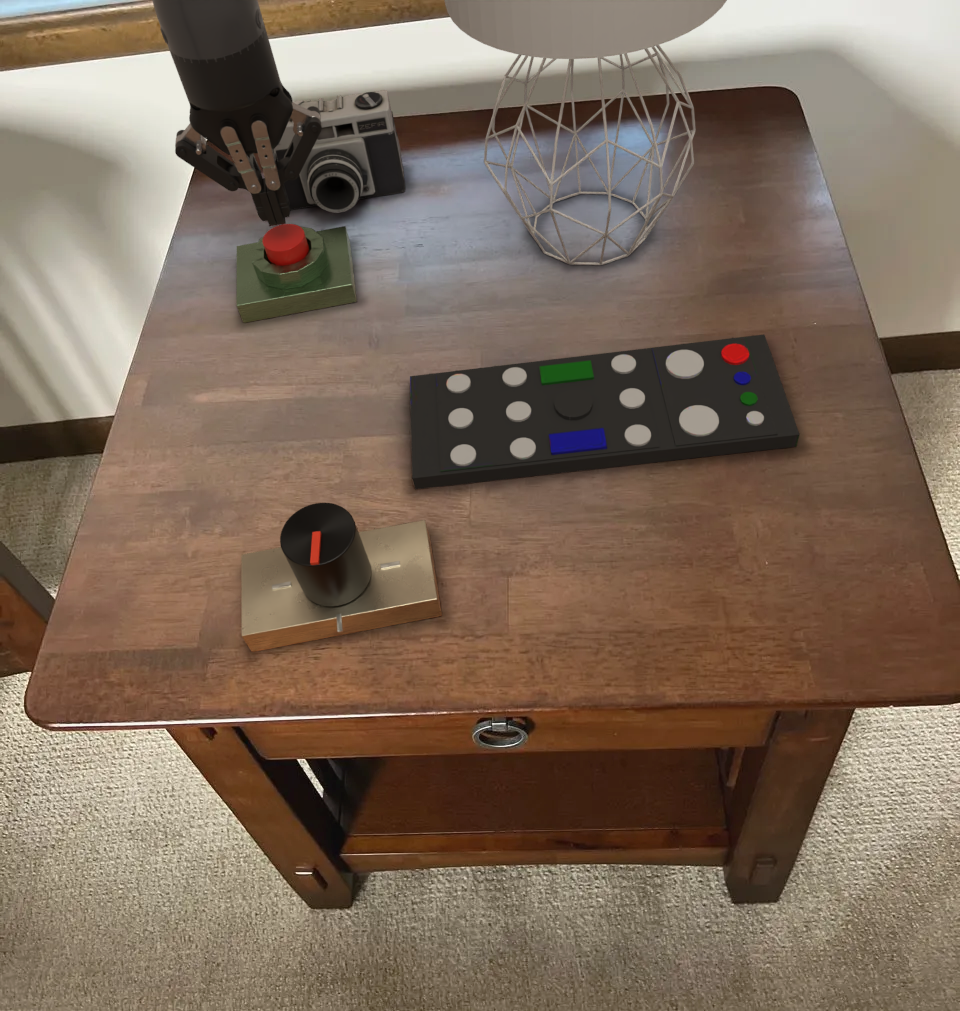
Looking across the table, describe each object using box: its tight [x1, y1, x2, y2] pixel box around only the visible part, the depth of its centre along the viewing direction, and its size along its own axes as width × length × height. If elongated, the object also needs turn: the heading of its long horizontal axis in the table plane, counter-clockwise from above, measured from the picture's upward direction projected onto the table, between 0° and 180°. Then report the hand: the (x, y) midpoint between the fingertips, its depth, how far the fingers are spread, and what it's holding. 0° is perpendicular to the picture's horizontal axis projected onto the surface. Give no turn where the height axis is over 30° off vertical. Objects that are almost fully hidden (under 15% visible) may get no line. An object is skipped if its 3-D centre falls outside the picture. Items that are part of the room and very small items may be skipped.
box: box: [235, 225, 358, 324], centre depth 89 cm, size 11×9×4 cm
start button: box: [262, 223, 309, 266], centre depth 86 cm, size 4×4×2 cm
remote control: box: [409, 334, 800, 490], centre depth 75 cm, size 11×30×2 cm, turn 94°
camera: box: [275, 89, 406, 214], centre depth 93 cm, size 14×9×10 cm, turn 89°
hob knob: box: [279, 502, 371, 606], centre depth 64 cm, size 5×5×6 cm
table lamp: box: [444, 0, 728, 266], centre depth 74 cm, size 22×22×40 cm
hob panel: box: [240, 519, 443, 653], centre depth 67 cm, size 14×9×3 cm
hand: (277, 219), depth 84 cm, fingers closed
